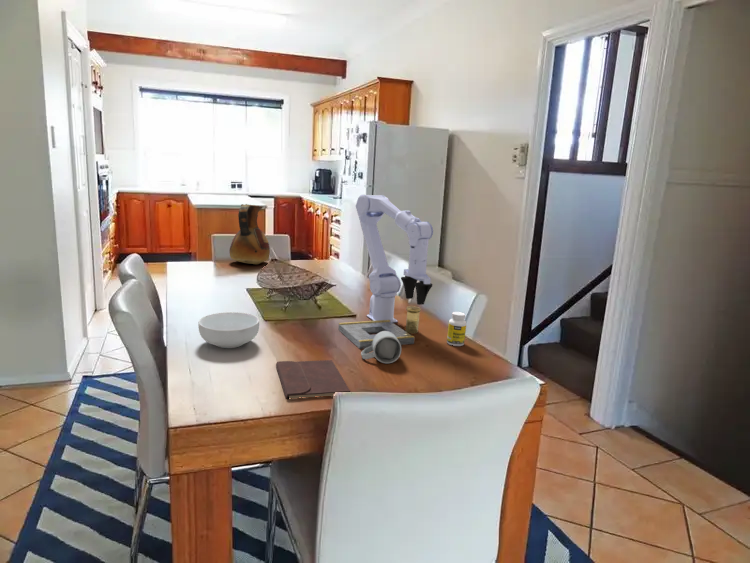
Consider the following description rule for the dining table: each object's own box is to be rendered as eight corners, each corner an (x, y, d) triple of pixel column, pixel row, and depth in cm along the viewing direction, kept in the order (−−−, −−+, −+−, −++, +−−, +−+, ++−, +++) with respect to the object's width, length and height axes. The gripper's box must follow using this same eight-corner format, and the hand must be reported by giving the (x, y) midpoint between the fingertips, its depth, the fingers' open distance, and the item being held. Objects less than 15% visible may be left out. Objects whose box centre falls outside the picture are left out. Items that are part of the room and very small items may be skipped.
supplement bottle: (450, 346, 159) (453, 316, 157) (443, 341, 164) (446, 311, 162) (467, 346, 160) (470, 315, 158) (459, 340, 165) (462, 310, 163)
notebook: (332, 365, 140) (333, 358, 139) (351, 397, 121) (351, 389, 121) (275, 368, 135) (276, 361, 135) (285, 401, 117) (286, 393, 116)
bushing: (402, 329, 172) (404, 306, 171) (414, 329, 174) (416, 305, 173) (408, 334, 168) (410, 310, 167) (421, 333, 170) (423, 309, 168)
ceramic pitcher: (274, 261, 274) (276, 204, 268) (261, 268, 255) (262, 206, 248) (239, 258, 277) (239, 201, 270) (223, 265, 257) (223, 203, 251)
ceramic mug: (396, 353, 150) (397, 327, 149) (400, 364, 142) (402, 337, 141) (359, 353, 149) (360, 327, 147) (362, 364, 141) (363, 337, 139)
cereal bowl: (197, 335, 154) (197, 312, 153) (254, 332, 160) (254, 310, 159) (200, 356, 139) (199, 330, 137) (263, 352, 145) (263, 327, 143)
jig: (338, 329, 168) (338, 323, 168) (388, 326, 175) (389, 319, 175) (359, 348, 152) (359, 341, 152) (413, 343, 159) (414, 336, 159)
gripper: (396, 256, 171) (393, 296, 173) (417, 264, 158) (414, 307, 161) (415, 255, 174) (412, 295, 176) (437, 263, 161) (434, 306, 163)
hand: (414, 301), depth 169 cm, fingers open, 7 cm apart
